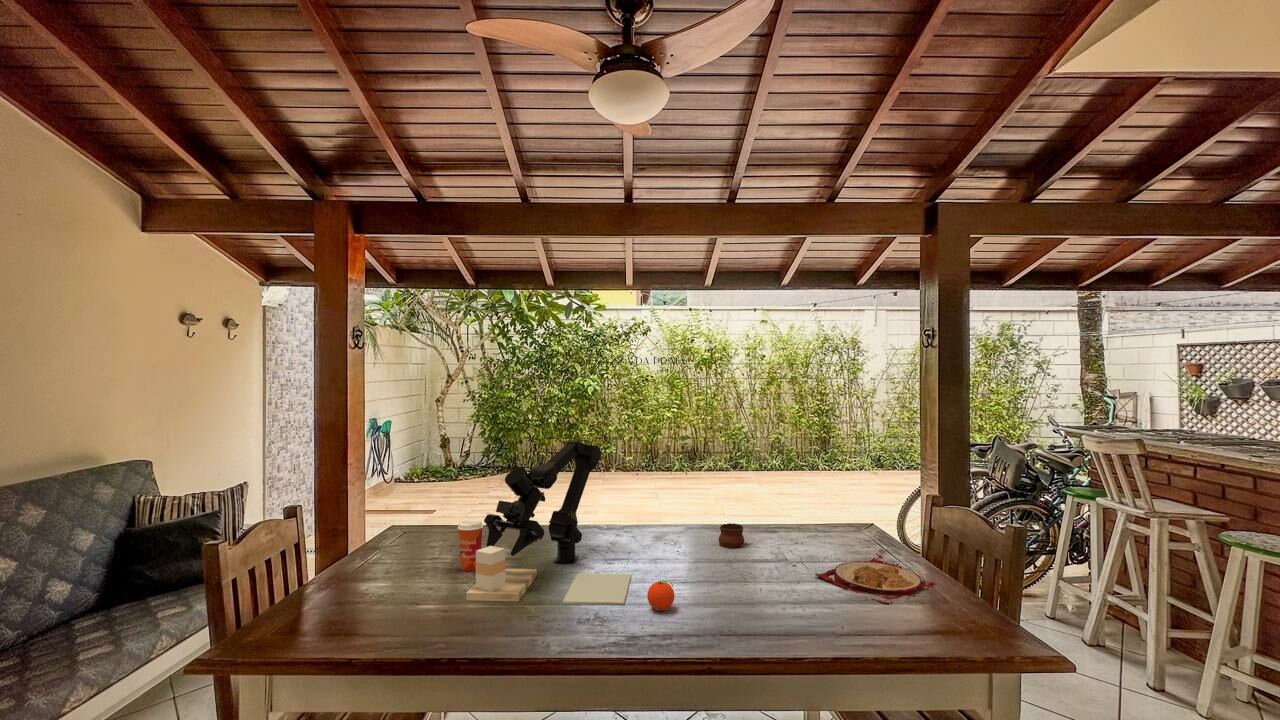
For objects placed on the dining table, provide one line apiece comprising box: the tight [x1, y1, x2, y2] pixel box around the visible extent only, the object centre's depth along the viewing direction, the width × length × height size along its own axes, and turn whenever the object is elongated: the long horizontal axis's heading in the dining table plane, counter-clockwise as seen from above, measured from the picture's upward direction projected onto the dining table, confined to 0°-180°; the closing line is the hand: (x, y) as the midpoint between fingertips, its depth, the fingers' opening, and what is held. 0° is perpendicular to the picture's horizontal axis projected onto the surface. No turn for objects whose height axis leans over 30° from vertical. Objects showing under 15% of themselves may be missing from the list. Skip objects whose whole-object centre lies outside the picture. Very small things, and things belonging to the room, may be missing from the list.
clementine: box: [646, 580, 675, 611], centre depth 155 cm, size 8×7×7 cm
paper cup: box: [457, 519, 484, 572], centre depth 188 cm, size 8×8×14 cm
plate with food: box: [814, 553, 937, 605], centre depth 173 cm, size 25×26×4 cm
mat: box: [562, 572, 632, 606], centre depth 169 cm, size 22×16×1 cm
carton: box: [475, 545, 507, 591], centre depth 166 cm, size 6×6×10 cm
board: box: [465, 568, 538, 602], centre depth 171 cm, size 20×14×2 cm
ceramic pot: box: [718, 522, 745, 550], centre depth 211 cm, size 18×18×7 cm
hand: (499, 552), depth 169 cm, fingers open, 9 cm apart
